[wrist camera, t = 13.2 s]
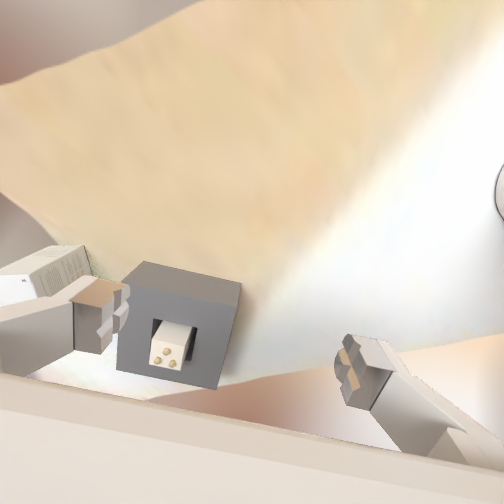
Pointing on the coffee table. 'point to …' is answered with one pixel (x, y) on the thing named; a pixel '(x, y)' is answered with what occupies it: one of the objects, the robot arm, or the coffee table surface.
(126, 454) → the robot arm
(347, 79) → the coffee table surface
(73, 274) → the small box
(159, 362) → the plug peg
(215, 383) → the socket block
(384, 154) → the coffee table surface
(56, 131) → the coffee table surface
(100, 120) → the coffee table surface
